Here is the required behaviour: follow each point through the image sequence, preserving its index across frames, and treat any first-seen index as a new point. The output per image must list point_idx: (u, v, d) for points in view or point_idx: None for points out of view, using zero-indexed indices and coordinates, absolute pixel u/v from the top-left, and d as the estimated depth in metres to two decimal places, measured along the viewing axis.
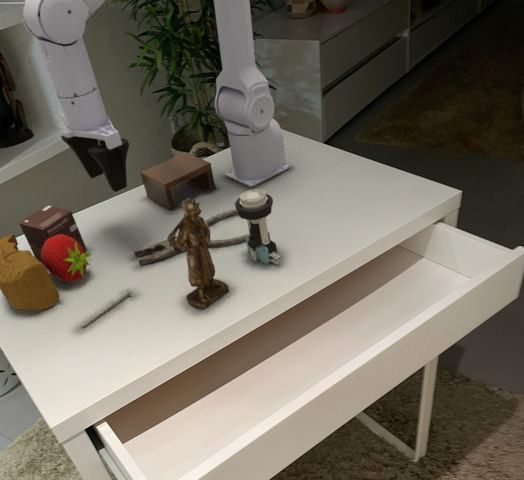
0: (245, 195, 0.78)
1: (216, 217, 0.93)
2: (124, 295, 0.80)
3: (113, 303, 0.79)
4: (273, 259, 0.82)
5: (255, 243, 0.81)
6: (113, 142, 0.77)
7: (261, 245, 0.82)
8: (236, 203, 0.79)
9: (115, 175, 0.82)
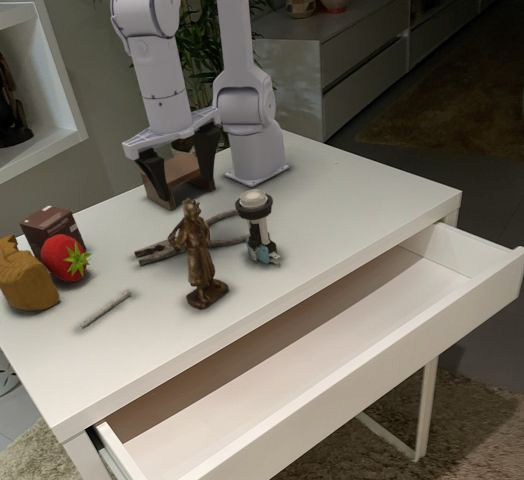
0: (245, 195, 0.78)
1: (216, 217, 0.93)
2: (124, 295, 0.80)
3: (113, 303, 0.79)
4: (273, 259, 0.82)
5: (255, 243, 0.81)
6: None
7: (261, 245, 0.82)
8: (236, 203, 0.79)
9: None
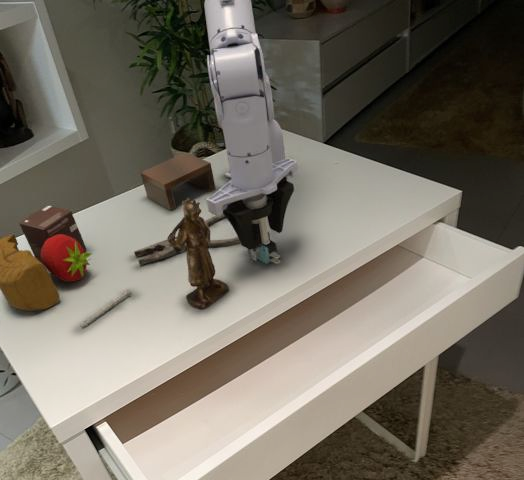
0: None
1: (216, 217, 0.93)
2: (124, 295, 0.80)
3: (113, 303, 0.79)
4: (273, 259, 0.82)
5: (255, 243, 0.81)
6: None
7: (261, 245, 0.82)
8: None
9: None
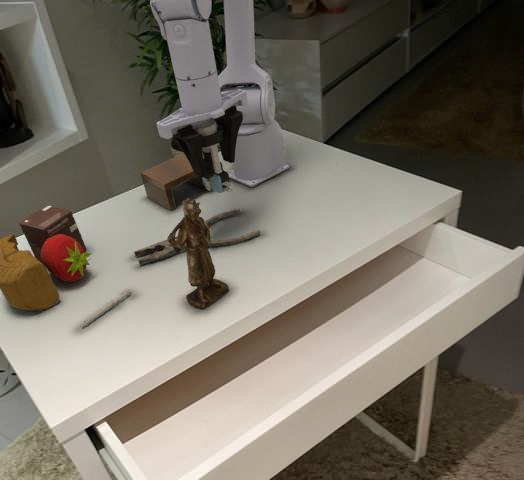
0: None
1: (216, 217, 0.93)
2: (124, 295, 0.80)
3: (113, 303, 0.79)
4: (226, 188, 0.86)
5: (208, 172, 0.85)
6: None
7: (214, 174, 0.85)
8: None
9: None
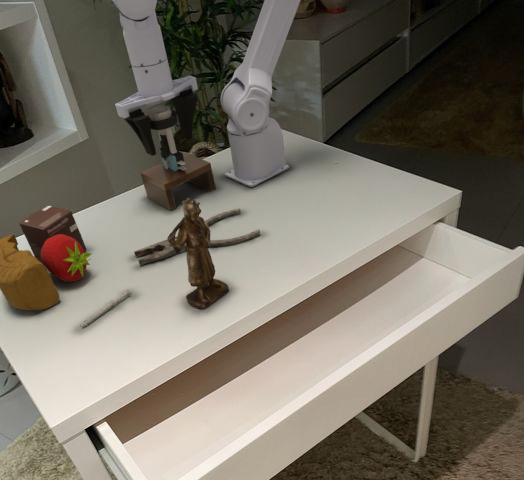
0: (153, 109, 0.94)
1: (216, 217, 0.93)
2: (124, 295, 0.80)
3: (113, 303, 0.79)
4: (181, 167, 0.98)
5: (165, 152, 0.97)
6: None
7: (170, 154, 0.98)
8: None
9: None
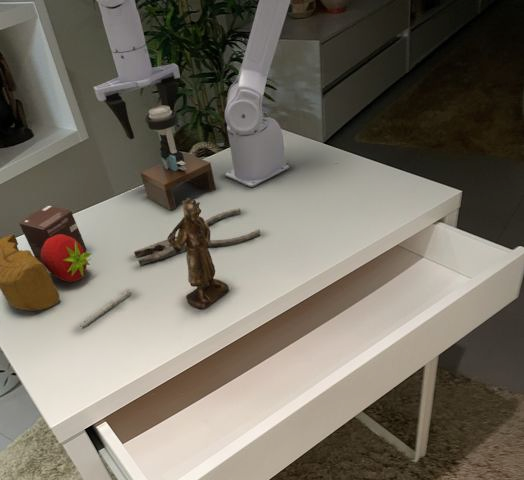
0: (153, 109, 0.94)
1: (216, 217, 0.93)
2: (124, 295, 0.80)
3: (113, 303, 0.79)
4: (181, 167, 0.98)
5: (165, 152, 0.97)
6: None
7: (170, 154, 0.98)
8: (146, 117, 0.95)
9: None
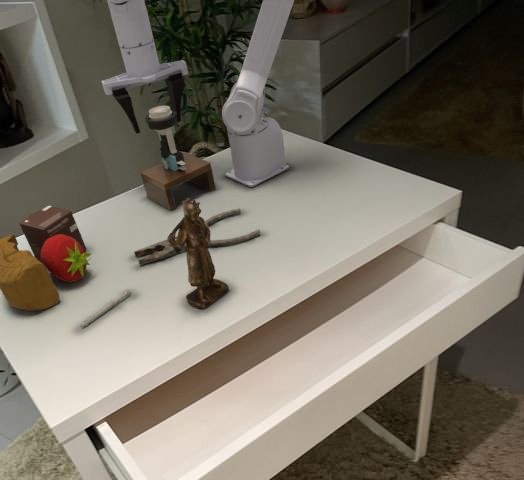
0: (153, 109, 0.94)
1: (216, 217, 0.93)
2: (124, 295, 0.80)
3: (113, 303, 0.79)
4: (181, 167, 0.98)
5: (165, 152, 0.97)
6: None
7: (170, 154, 0.98)
8: (146, 117, 0.95)
9: None
